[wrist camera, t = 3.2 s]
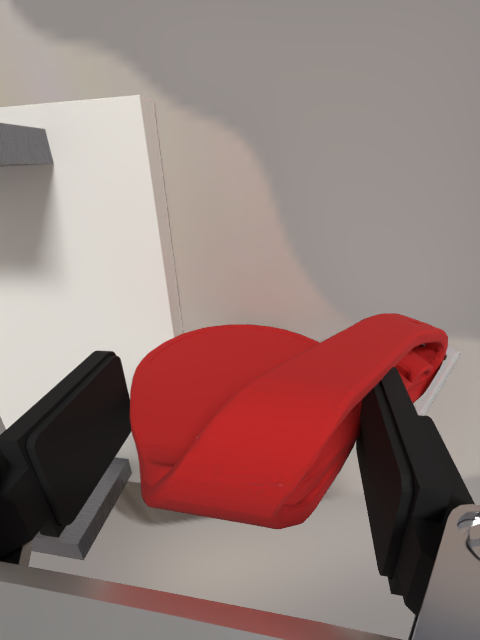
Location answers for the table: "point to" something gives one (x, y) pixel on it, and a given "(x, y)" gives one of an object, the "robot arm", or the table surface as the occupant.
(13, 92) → the table surface
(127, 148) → the board
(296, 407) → the red curved piece
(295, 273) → the table surface
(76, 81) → the table surface
